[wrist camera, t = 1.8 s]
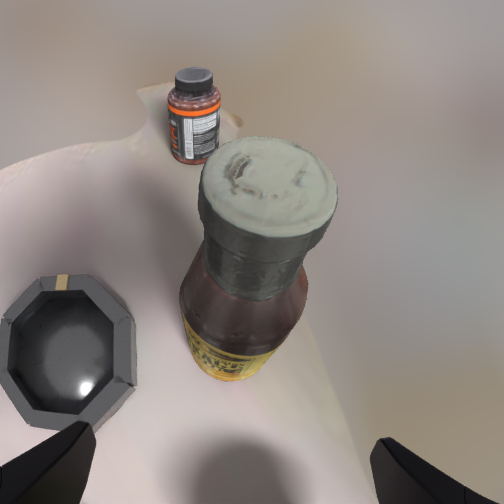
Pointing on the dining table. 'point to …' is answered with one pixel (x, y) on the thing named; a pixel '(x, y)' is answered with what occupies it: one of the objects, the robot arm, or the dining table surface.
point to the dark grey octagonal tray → (67, 353)
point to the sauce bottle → (253, 251)
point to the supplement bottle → (194, 115)
